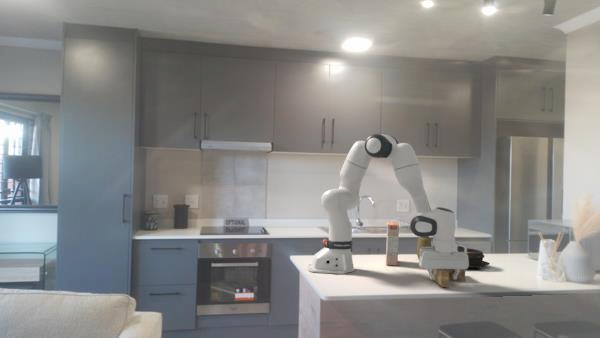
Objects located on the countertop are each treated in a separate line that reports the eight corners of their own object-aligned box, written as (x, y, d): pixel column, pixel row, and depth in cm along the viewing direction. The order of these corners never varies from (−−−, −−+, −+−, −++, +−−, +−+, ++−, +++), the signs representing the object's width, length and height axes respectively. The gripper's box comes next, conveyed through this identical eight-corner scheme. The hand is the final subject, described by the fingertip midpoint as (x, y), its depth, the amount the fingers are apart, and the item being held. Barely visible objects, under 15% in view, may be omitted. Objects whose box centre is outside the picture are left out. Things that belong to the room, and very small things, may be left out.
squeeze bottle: (429, 262, 219) (430, 228, 219) (414, 260, 223) (415, 227, 223) (433, 260, 225) (434, 227, 226) (418, 258, 230) (419, 226, 230)
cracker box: (398, 266, 208) (399, 225, 208) (386, 265, 209) (386, 224, 209) (397, 260, 221) (398, 222, 222) (386, 260, 223) (386, 221, 223)
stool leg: (429, 276, 185) (429, 263, 185) (435, 277, 185) (435, 263, 185) (442, 286, 169) (442, 272, 169) (448, 287, 169) (448, 272, 169)
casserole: (461, 272, 198) (461, 255, 198) (434, 264, 215) (434, 248, 215) (499, 269, 207) (499, 252, 208) (470, 261, 224) (470, 246, 225)
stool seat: (432, 280, 181) (432, 266, 181) (423, 273, 193) (423, 261, 193) (465, 280, 181) (465, 267, 181) (453, 274, 193) (453, 261, 193)
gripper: (422, 247, 169) (421, 281, 169) (470, 248, 170) (470, 281, 170) (417, 244, 176) (416, 277, 175) (464, 245, 177) (463, 277, 176)
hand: (443, 279), depth 173 cm, fingers open, 8 cm apart
